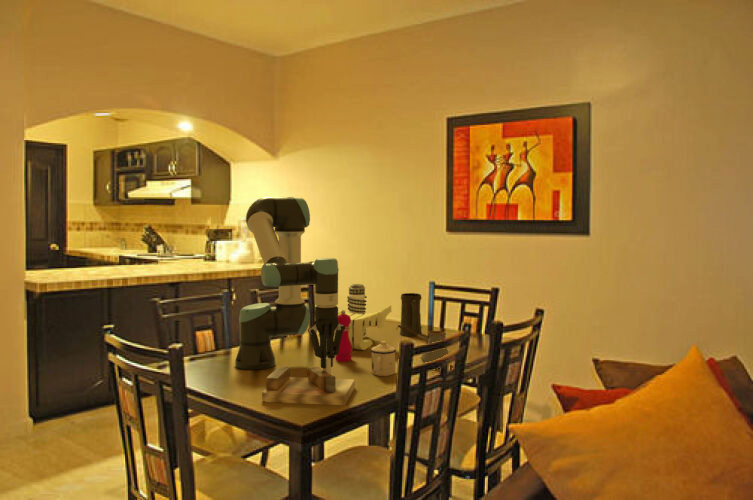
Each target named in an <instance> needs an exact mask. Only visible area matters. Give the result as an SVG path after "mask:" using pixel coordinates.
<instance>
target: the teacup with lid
mask: <svg viewBox="0 0 753 500" xmlns="http://www.w3.org/2000/svg"><path fill="white" fill-rule="evenodd" d="M370 351H371V374H372V375H374V376H378V377H379V376H380V377H388V376H393V375H394V374H395V373H396V351H397V350H396V348H395V347H394V346H391V345H390V344H388V343H387V342H386V341H385V340H383V341H380V344H377V345H375V346H373V347H371V350H370Z"/></svg>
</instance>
